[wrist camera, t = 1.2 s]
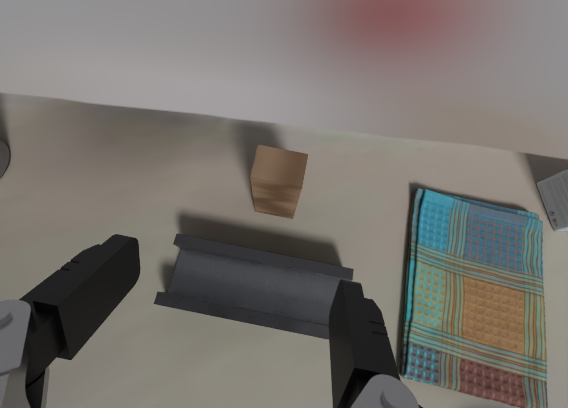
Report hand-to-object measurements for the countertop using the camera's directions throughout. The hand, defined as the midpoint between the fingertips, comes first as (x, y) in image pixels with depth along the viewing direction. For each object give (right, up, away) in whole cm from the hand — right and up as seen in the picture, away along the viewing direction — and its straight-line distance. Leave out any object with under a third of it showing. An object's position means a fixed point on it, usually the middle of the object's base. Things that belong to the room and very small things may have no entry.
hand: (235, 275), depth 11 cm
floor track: (-1, -7, +23) cm, 24 cm away
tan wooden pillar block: (+1, +3, +26) cm, 27 cm away
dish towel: (+25, -8, +25) cm, 36 cm away
